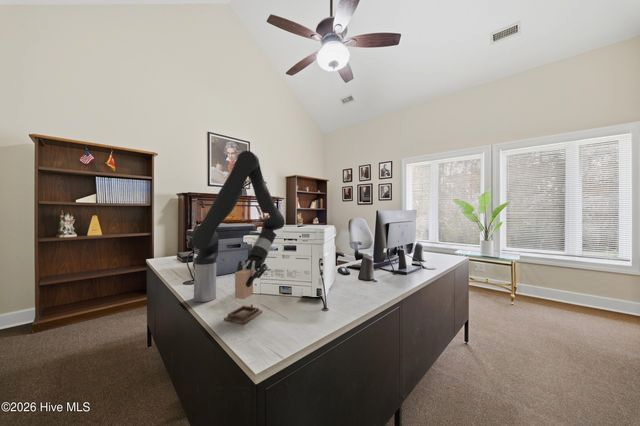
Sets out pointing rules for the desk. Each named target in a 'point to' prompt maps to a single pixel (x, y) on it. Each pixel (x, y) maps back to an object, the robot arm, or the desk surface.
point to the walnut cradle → (243, 314)
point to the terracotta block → (243, 284)
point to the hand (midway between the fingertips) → (242, 285)
